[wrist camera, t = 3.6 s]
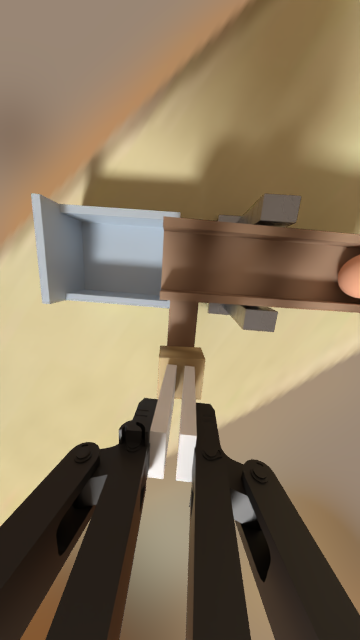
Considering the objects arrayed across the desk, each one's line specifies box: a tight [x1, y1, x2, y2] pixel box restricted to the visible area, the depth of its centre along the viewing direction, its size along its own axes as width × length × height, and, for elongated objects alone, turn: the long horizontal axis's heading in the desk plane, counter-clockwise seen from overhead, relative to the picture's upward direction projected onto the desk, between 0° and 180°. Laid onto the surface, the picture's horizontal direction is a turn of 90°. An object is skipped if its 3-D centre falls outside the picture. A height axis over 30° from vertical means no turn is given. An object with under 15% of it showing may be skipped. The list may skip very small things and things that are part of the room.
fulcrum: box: [208, 194, 301, 332], centre depth 19 cm, size 13×11×10 cm
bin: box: [31, 194, 181, 308], centre depth 20 cm, size 12×9×7 cm
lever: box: [157, 216, 360, 399], centre depth 17 cm, size 18×14×3 cm
